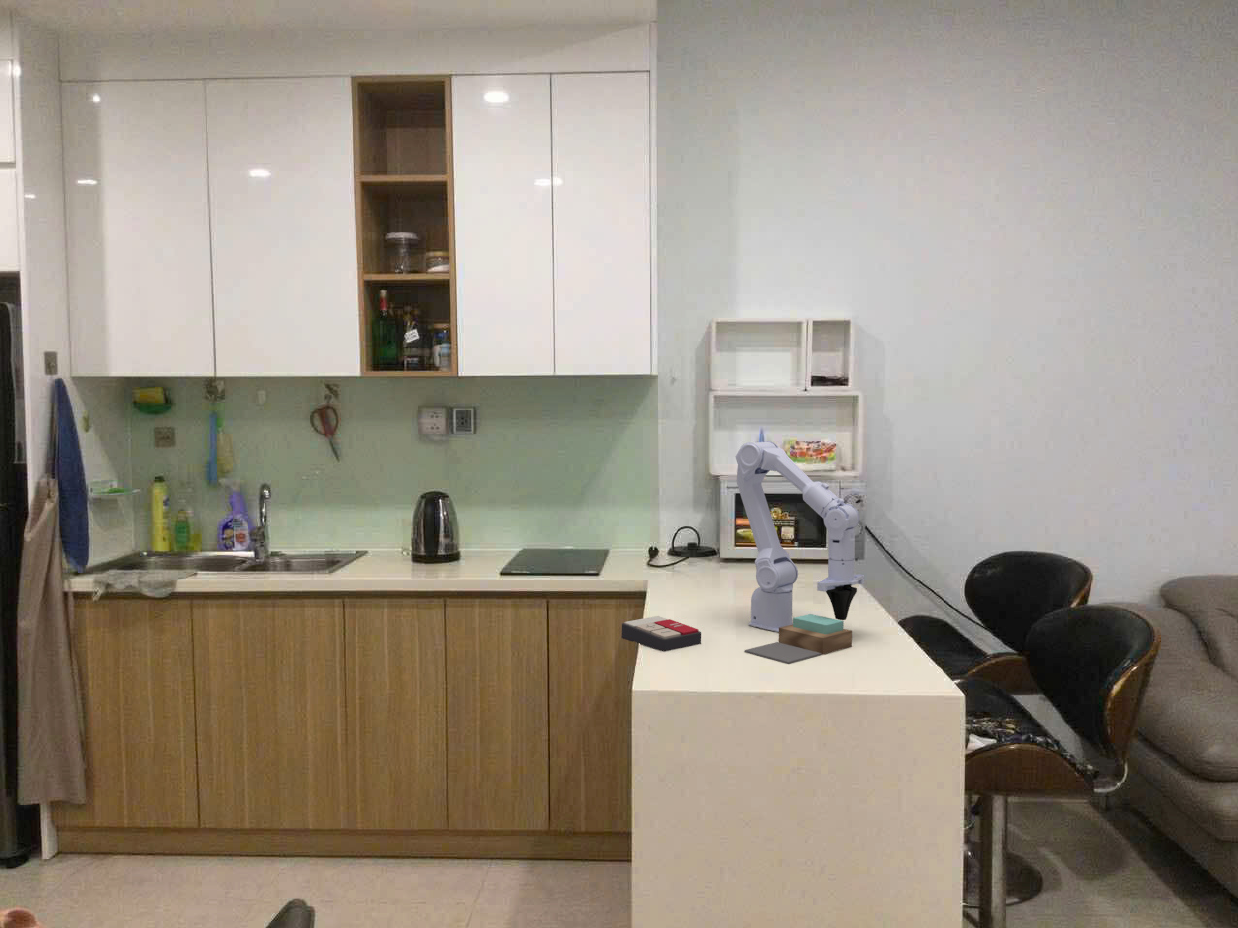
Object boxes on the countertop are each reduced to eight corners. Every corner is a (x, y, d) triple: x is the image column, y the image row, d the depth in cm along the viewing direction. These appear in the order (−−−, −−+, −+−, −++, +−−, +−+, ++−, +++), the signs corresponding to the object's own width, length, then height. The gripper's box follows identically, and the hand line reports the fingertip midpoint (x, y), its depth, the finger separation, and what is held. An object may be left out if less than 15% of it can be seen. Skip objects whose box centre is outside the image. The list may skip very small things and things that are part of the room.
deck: (778, 643, 201) (778, 627, 201) (807, 636, 207) (807, 620, 207) (822, 654, 192) (823, 638, 192) (851, 646, 198) (852, 630, 198)
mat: (744, 651, 194) (744, 650, 194) (777, 643, 201) (777, 641, 201) (788, 663, 185) (788, 662, 185) (821, 654, 191) (821, 653, 191)
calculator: (664, 636, 194) (621, 619, 206) (663, 656, 195) (620, 638, 206) (702, 628, 201) (658, 613, 213) (701, 647, 201) (657, 631, 213)
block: (792, 626, 202) (793, 617, 201) (810, 622, 205) (810, 613, 205) (826, 634, 195) (826, 625, 194) (843, 630, 198) (843, 620, 198)
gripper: (836, 564, 196) (835, 627, 197) (875, 557, 206) (875, 617, 207) (809, 560, 202) (809, 621, 203) (849, 553, 211) (849, 612, 212)
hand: (840, 619), depth 205 cm, fingers closed
